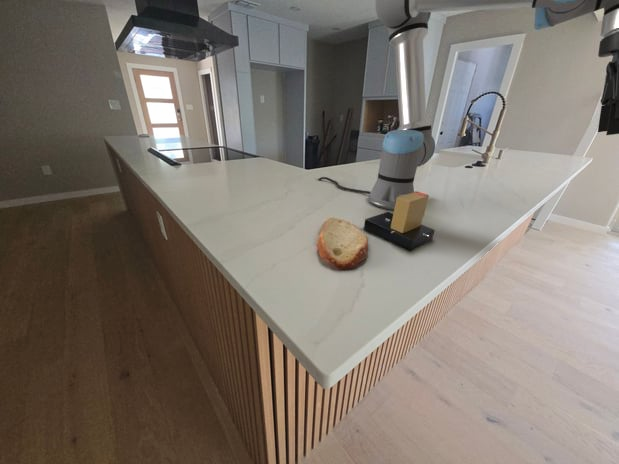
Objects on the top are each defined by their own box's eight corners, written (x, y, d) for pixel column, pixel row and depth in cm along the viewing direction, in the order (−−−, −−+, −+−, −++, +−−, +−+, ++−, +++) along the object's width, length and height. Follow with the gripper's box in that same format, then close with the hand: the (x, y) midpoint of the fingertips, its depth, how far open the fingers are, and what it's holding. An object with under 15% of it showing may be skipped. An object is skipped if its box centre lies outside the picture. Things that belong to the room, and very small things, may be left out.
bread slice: (334, 221, 72) (335, 209, 70) (391, 246, 60) (394, 232, 59) (284, 240, 61) (284, 226, 59) (342, 275, 49) (344, 259, 47)
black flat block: (360, 230, 68) (362, 219, 66) (388, 220, 75) (390, 210, 73) (411, 255, 57) (414, 242, 56) (438, 241, 64) (441, 229, 63)
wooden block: (402, 233, 60) (410, 200, 56) (390, 228, 62) (397, 196, 59) (420, 225, 65) (429, 194, 61) (408, 221, 67) (416, 190, 63)
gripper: (675, 5, 45) (650, 132, 51) (638, 35, 62) (623, 127, 68) (610, 25, 50) (594, 138, 56) (593, 48, 67) (582, 132, 73)
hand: (610, 132), depth 62 cm, fingers open, 13 cm apart
